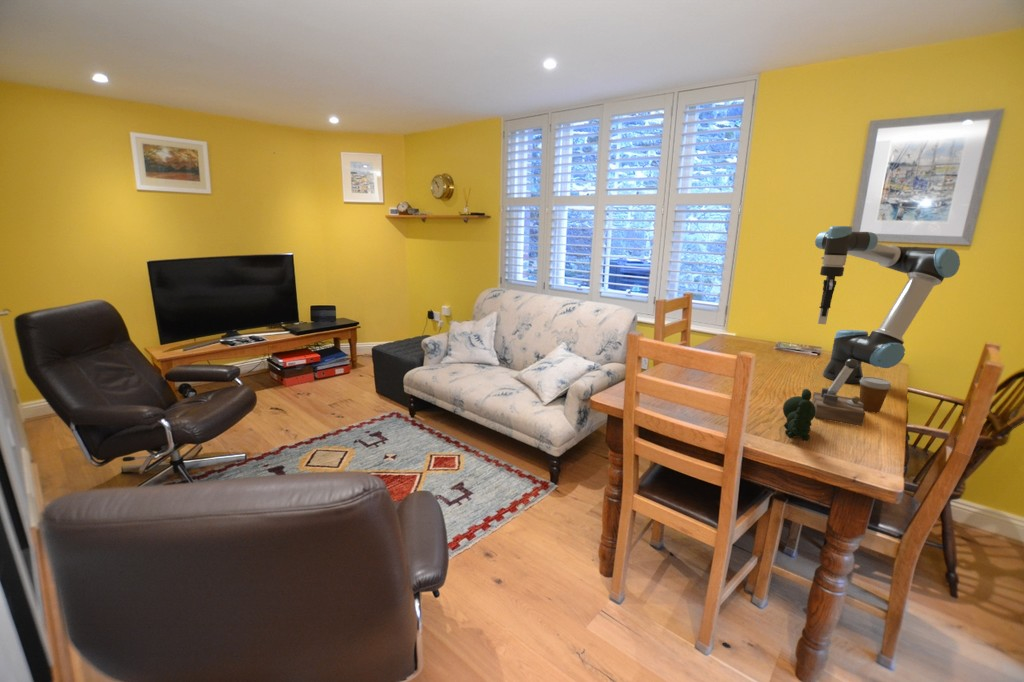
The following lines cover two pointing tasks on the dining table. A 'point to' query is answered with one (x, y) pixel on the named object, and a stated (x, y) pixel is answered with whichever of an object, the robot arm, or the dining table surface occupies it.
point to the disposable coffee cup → (873, 393)
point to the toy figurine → (799, 415)
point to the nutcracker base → (838, 408)
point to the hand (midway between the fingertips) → (821, 323)
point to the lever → (842, 376)
